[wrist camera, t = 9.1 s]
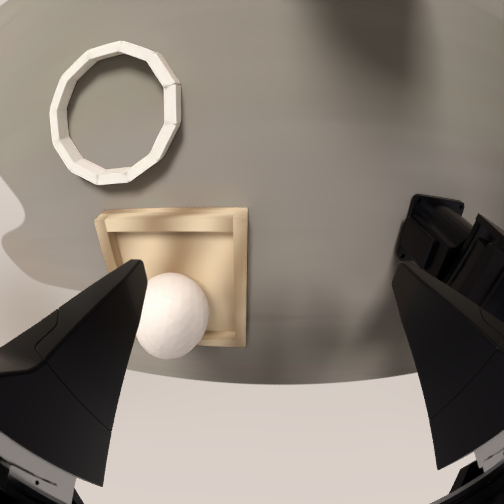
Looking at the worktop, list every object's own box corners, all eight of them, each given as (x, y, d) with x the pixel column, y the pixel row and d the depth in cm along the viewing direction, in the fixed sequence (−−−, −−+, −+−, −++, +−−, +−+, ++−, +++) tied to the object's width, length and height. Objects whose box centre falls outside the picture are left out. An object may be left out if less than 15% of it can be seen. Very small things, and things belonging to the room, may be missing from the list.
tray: (247, 207, 21) (247, 219, 19) (245, 332, 28) (245, 346, 26) (104, 209, 20) (94, 220, 19) (138, 326, 28) (133, 339, 26)
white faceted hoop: (181, 33, 13) (176, 29, 12) (183, 174, 19) (179, 179, 18) (58, 65, 13) (48, 65, 12) (69, 183, 19) (60, 189, 18)
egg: (221, 269, 23) (213, 341, 16) (202, 316, 26) (192, 383, 19) (152, 246, 21) (119, 312, 15) (143, 297, 24) (118, 361, 18)
